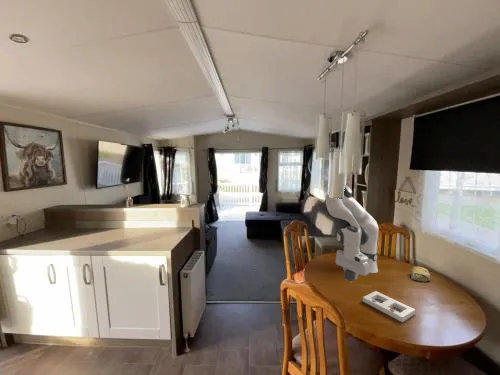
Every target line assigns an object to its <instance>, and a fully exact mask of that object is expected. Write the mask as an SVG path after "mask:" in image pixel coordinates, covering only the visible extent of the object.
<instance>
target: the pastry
mask: <svg viewBox="0 0 500 375" xmlns="http://www.w3.org/2000/svg"><path fill="white" fill-rule="evenodd" d="M410 278H411V280H413V281H418V282H424V283H425V282H426V283H427V282H429V281H431V274H430V272H429V270H428V269H427V268H426V267H423V266H419V265H418V266H417V265H416V266H412V268H411V269H410Z"/></svg>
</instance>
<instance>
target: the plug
mask: <svg viewBox="0 0 500 375" xmlns="http://www.w3.org/2000/svg"><path fill="white" fill-rule="evenodd" d="M354 275H356V274H355V272H354V271H351V270H349V269H347V270H345V272H344V280H345V281H349V282H350V284H352V283H353V282H354V281H356V280H357V279H354V278H353V276H354Z"/></svg>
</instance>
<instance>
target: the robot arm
mask: <svg viewBox="0 0 500 375" xmlns="http://www.w3.org/2000/svg"><path fill="white" fill-rule="evenodd" d="M344 185H345V189H344V190H345V191H344V197H343V199H339V198H338V199H337V198H330V197H329V195H328V193H327V194H326V195H325V199H324V204H325V206H326V208H327V211H328V214H329V215H330V216H331V217H333V218H335V219H341V220H345V221H346V222H348V223H349V224H350V225H348V226H345V228H340V229H338V230H337V232H336V241H337V242H338V243H339V244H340V245H344V246H343V250H341V249H338V250H337V251H336V255H335V256H336V257H335V265H336V266H340V267H342V269H343V272H344V273H345V270H348V269H349V270H351V271H354V272H355V274H356V275H354V276H353V278H354V279H356V280H357V279H358V276H359V275H360V276H363V277H365V276H367V275H369V274H376V273H378V272H379V268H378V263H377V259H378V251H377V250H378V241H379V232H380V230H379V229H380V228H379V226H378V222H377V220H375V218H374V217H373V216H372V215H371V214H370V213H369V212H368V211H367V210H366V209H365V208H364V207H363V206H362V205H361V203H359V202H358V201H357V200H356V199H355V198H354V197H353V190H352V189H351V188H350V186H348V185H347V184H344Z"/></svg>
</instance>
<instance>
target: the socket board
mask: <svg viewBox="0 0 500 375" xmlns="http://www.w3.org/2000/svg"><path fill="white" fill-rule="evenodd" d="M362 303H364V304H366V305H368V306H370V307H372V308H374V309H375V310H378V311H379V312H380V313H382V314H385V315H386V316H389V317H390V318H392V319H394V320H396V321H398V322H400V323H402V324H403V323H405V322H406V321H408V320H409V319H411V318H412V317H414V316H415V315H416V309H415V308H413V307H411V306H409V305H406V304H404V303H402V302H400V301H398V300H396V299H394V298H391V297H390V296H387V295H385V294H383V293H382V292H379V291H377V290H375V291H372V292H371V293H368V294H367V295H365V296H362Z"/></svg>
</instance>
